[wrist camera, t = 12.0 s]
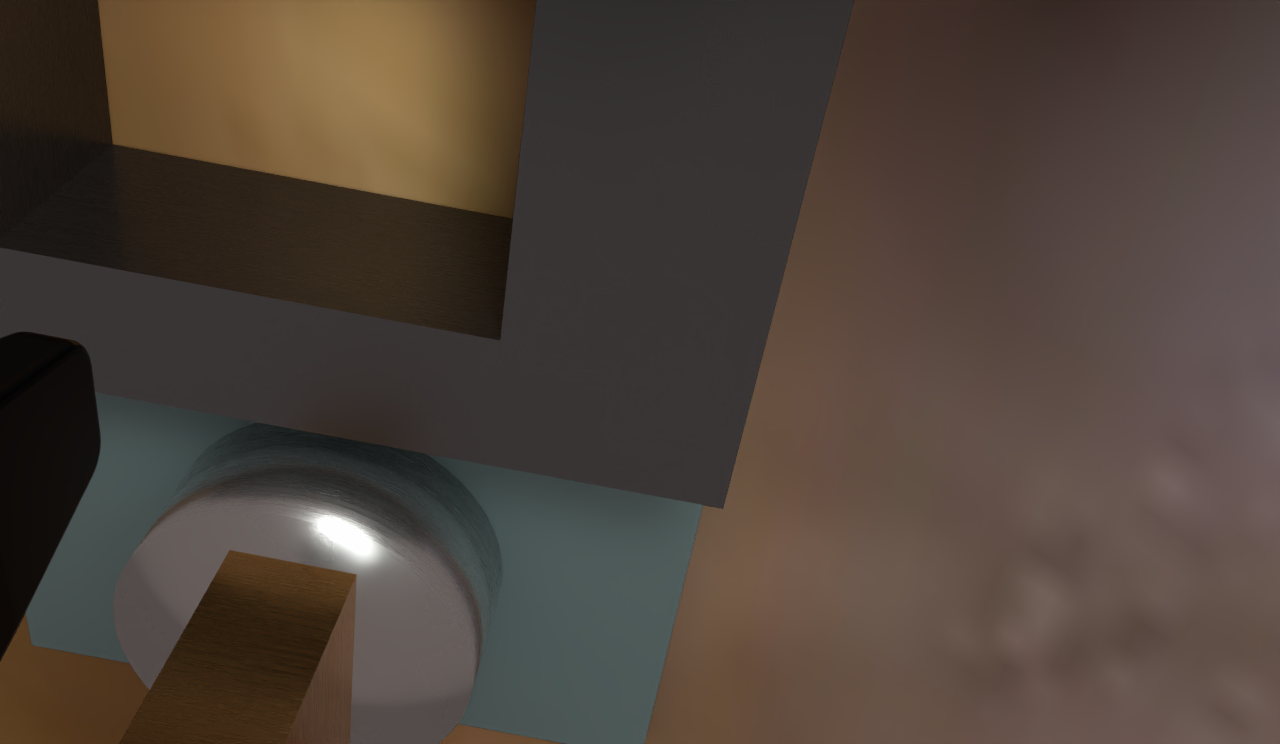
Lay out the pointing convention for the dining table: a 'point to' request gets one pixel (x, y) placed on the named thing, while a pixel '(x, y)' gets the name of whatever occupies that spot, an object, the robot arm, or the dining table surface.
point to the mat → (527, 603)
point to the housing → (446, 250)
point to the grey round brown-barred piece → (308, 596)
